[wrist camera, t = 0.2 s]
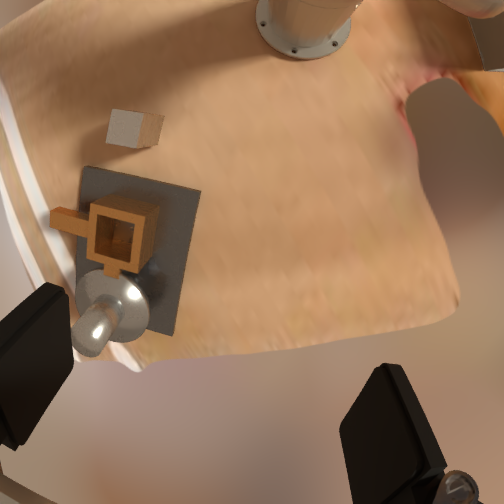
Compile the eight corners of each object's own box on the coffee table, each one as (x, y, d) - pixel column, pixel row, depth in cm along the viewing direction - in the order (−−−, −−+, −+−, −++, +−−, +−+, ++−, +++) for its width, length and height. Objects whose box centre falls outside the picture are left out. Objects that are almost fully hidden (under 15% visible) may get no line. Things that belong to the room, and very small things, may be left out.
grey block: (140, 111, 39) (112, 108, 31) (167, 116, 40) (143, 113, 31) (134, 139, 41) (105, 142, 32) (160, 144, 41) (136, 148, 33)
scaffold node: (77, 163, 42) (13, 181, 28) (201, 191, 43) (171, 220, 29) (70, 299, 50) (25, 347, 36) (173, 333, 52) (148, 396, 38)
